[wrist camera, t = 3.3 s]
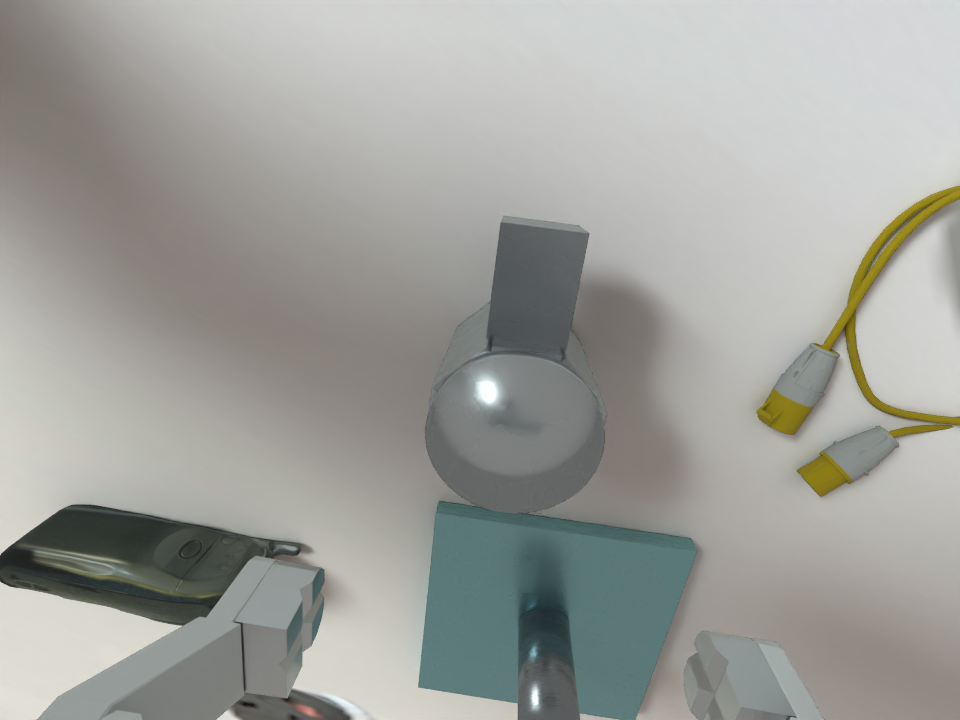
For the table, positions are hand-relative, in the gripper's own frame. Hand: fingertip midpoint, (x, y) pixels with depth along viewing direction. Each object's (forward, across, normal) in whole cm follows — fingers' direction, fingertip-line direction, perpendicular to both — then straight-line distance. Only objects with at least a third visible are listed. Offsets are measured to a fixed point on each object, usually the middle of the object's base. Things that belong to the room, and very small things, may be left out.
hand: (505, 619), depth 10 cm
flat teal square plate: (+14, -4, +15) cm, 21 cm away
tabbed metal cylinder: (+14, 0, -3) cm, 14 cm away
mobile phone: (+15, +18, +13) cm, 27 cm away
